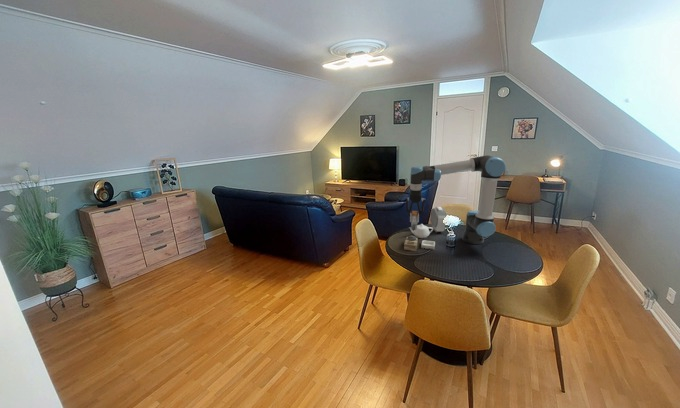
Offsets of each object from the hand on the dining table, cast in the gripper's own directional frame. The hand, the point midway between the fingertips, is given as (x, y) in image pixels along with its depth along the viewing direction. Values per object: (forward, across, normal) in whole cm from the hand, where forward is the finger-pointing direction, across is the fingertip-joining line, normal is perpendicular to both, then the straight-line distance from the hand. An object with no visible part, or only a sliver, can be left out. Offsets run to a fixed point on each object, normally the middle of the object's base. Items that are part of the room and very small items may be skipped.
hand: (414, 221), depth 194 cm
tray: (+20, +10, +6) cm, 23 cm away
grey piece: (+21, +15, +41) cm, 48 cm away
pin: (+6, 0, 0) cm, 6 cm away
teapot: (+21, +3, +24) cm, 32 cm away
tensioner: (+20, -2, +2) cm, 20 cm away
